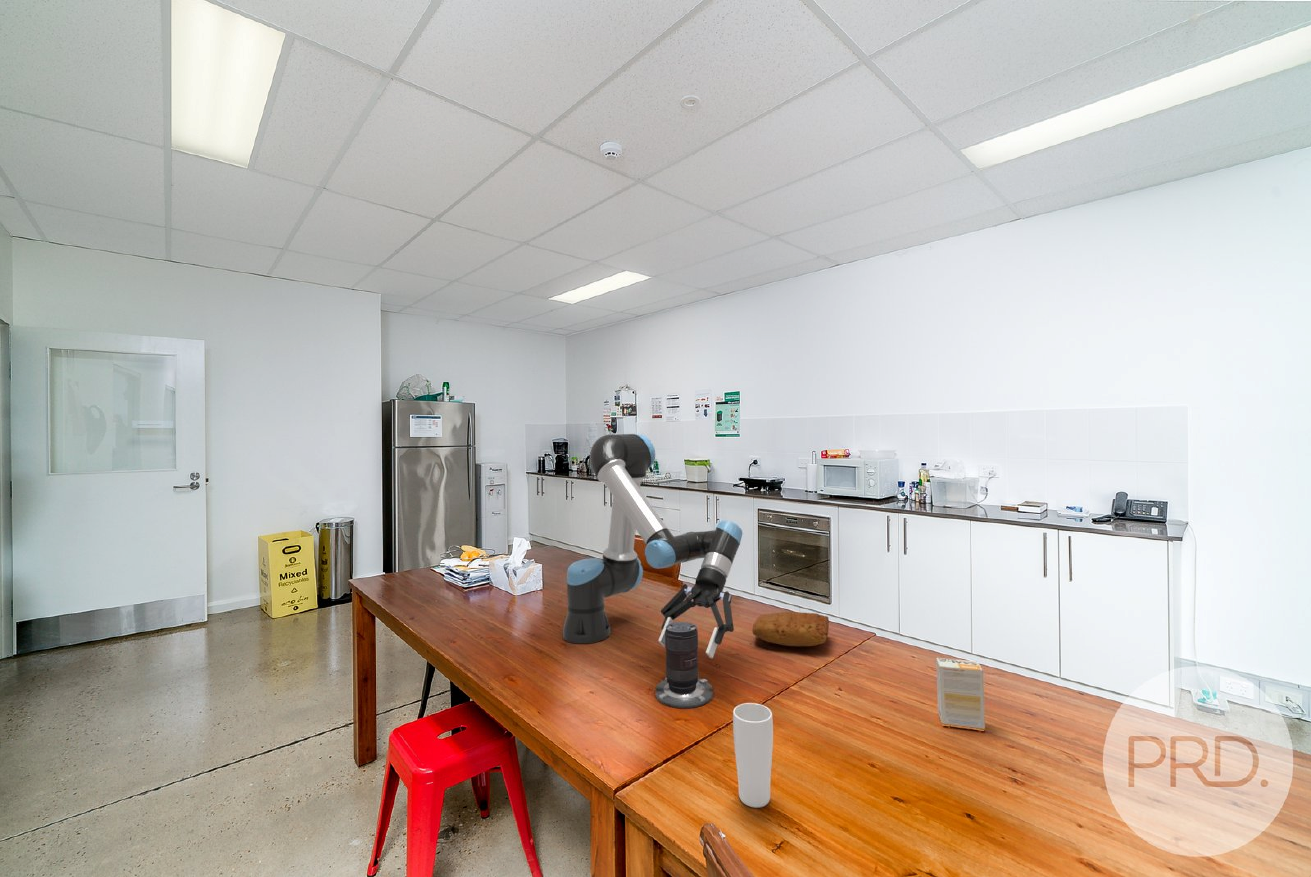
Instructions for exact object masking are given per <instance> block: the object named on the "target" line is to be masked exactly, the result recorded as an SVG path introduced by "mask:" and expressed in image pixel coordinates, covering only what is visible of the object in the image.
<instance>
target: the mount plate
mask: <svg viewBox="0 0 1311 877" xmlns="http://www.w3.org/2000/svg"><path fill="white" fill-rule="evenodd" d="M654 691H655V698H656V700H657V699H658V700H657V701H658V702H659V701H660V702H659V703H661V704H663V705H664V704H665V705H664V706H666V707H670V708H674V707H675V708H676V709H695V708H699V707H701V706H705V705H707V704H708V703H709V702H710V701H712V699H713V696H714V689H713V686H712V684H710V682H708V679H705V678H700V677H698V682H697V684H696V689H695V691H693V692H691V693H688V694H677V693H674V692H672V691H670V689H669V684H668V682H667V677H665V678H664V680H661V681H660V682H659V683H657V685H656V687H655V690H654ZM704 704H705V705H704Z"/></svg>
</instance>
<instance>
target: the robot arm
mask: <svg viewBox="0 0 1311 877" xmlns="http://www.w3.org/2000/svg"><path fill="white" fill-rule="evenodd" d="M655 460H656V450H655V446H654V444H653V443H652V440H650V438H648V437H647V436H646V435H643V434H636V433H629V434H628V433H626V434H625V433H623V434H622V433H620V434H619V433H618V434H611V433H609V434H605V435H603V436H601V437H599V438H598V439H596V440H595V441H594V443H593V444H592V446H591V448H590V452H589V462H590V468H591V470H592V471H593V474H594V476H595V477H596V478H597V480H598V481H599V482H600V483H604V484H605V486H606V487H607V489H608V491H609V492H610V494H612V496H613V497H612V504H611V505H612V507H611V515H610V524H609V525H610V526H609V534H608V547H607V548H606V549H604V550H603V553H602V559H601V558H597V557H590V558H583V559H579V560H577V561H574V562H572V563H571V564H570V565H569V566H568V568H567V571H566V572H567V573H566V575H567V576H566V584H567V589H566V590H567V591H566V592H567V596H566V597H567V613H566V614H567V615H566V618H565V621H564V624H563V628H562V638H563V640H564V641H566V642H569V643H572V644H593V643H598V642H601V640H602V641H604V640H606V639H607V637H608V636H609V637H610V636H611V625H610V622H609V619H608V616H607V614H606V610H605V598H609V597H612V596H615V595H619V594H623V593H627V592H630V591H631V590H634V589H636V588H637V587H638V586H639V585H640V583H641V582H642V578H643V574H644V573H643V572H644V569H643V566H642V565H641V564H642V562H641V560H640V559H639V557H638V554H637V552H636V550H634V548H635V538H636V531H637V533H638V535H639V536H640V538H641V540H643V542H644V543H645V545H646V546H645V549H644V555H645V558H646V559H645V560H646V562H647V564H648V565H649V566H650V567H652V568H654V569H665V568H670V567H672V566H674V565H679V564H683V563H686V562H691V561H694V560H698V559H703V561H702V563H701V566H700V569H699V570H698V574H697V576H696V578H695V582H694V585H693V587H691V586H688V584H686V583H683V584H682V586H681V588H680V589H679V591H678V592H677V593H676V594H675V595H674V596H673V597H672V598H671V599H670V600H669V601H668V602H667V603H666V604H665V605H664V607H662V608H661V610H660V613H661V615H662V616H663V617H664V619H663V622H662V625H661V634H660V636H659V638H658V640H657V641H658V642H659V644H660V645H662V647H665V631H666V626H667V625H669V624H671V623H676V622H675V621H674V620H675V619H677V618H678V617H680V616H681V615H683V614H684V613H686V612H687V611H688V610H690V609H691V608H695V607H696V606H697V607H700V608H701V607H702V608H706V609H709V608H710V609H711V611H712V614H713V617H714V619H715V622H716V624H717V626H716V627H714V629H713V631H712V634H711V637H710V639H709V642H708V646H707V648H706V650H705V654H706V655H707V656H708V658H710V659H714V656H715V652H716V651H717V647H718V645H721V644H722V642H723V639H724V637H725V634H726V633H727V632H730V633H732V632H734V630H735V629H734V620H733V612H732V606H731V605H732V604H731V603H732V599H733V597H732V595H731V594H730V592H729V591H728V590H726V591H725V592H723V591H724V588H725V586H726V583H727V578H728V577H729V573H730V571H731V568H732V566H733V563H734V560H735V557H736V554H737V552H738V549H739V546H741V541H742V537H743V530H742V528H741V527H740V526H739V525H738V524H737V523H735V522H733V521H729V520H721V521H720V522H718V523H717V525H716V527H715V530H712V529H711V530H708V531H688V532H687V531H686V532H683V533H681V534H680V535H675V536H674V535H673V534H672V532H671V531H670V529H669V528H668V527H667V525H666V524H665V523H664V521H663V520H662V518H661V517H660V515H659V514H658V513H657V512H656V509H654V507H653V506H652V504H651V503H650V501H649V500H648V499H647V497H646V496H645V495H644V493H643V491H642V490H641V482H642V481H643V480H644V479H645V478H646V476H647V470H649V468H652V465H654V463H655ZM720 600H721V601H722V606H723V614H724V619H723V618H722V615H721V613H720V610H719V607H718V605H717V602H719V601H720ZM723 620H724V621H723ZM724 622H725V623H724ZM609 637H608V638H609Z"/></svg>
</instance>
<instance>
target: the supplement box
mask: <svg viewBox="0 0 1311 877" xmlns="http://www.w3.org/2000/svg"><path fill="white" fill-rule="evenodd" d="M935 661H936V662H935V664H936V687H937V690H936V691H937V714H939V716H938V718H939V717H940V719H939V721H940V720H941V721H940V723H941V722H942V724H944V725H950V726H951V725H953V726H962V727H970V728H976V729H980V730H985V731H986V713H985V711H986V710H985V689H984V688H985V687H984V686H985V685H984V670H983V668H982V667H981V665H980V663H979V662H978V661H975V660H974V661H973V660H965V659H954V658H945V657H936V660H935ZM942 724H941V725H942Z"/></svg>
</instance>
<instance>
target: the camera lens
mask: <svg viewBox="0 0 1311 877" xmlns="http://www.w3.org/2000/svg"><path fill="white" fill-rule="evenodd" d="M664 648H665V674H666V675H665V676H666V678H667V682H668V684H669V689H670V691H672V692H674V693H677V694H688V693H691V692H693V691H695V689H696V684H697V682H698V678H699V659H698V657H699V656H698V655H699V654H698V651H699V650H698V649H699V630H698V629H697V625H696V624H695V623H691V622H689V621H688V622H686V621H678V622H675V623H671V624H669V625H667V626H666V631H665V646H664Z"/></svg>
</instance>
